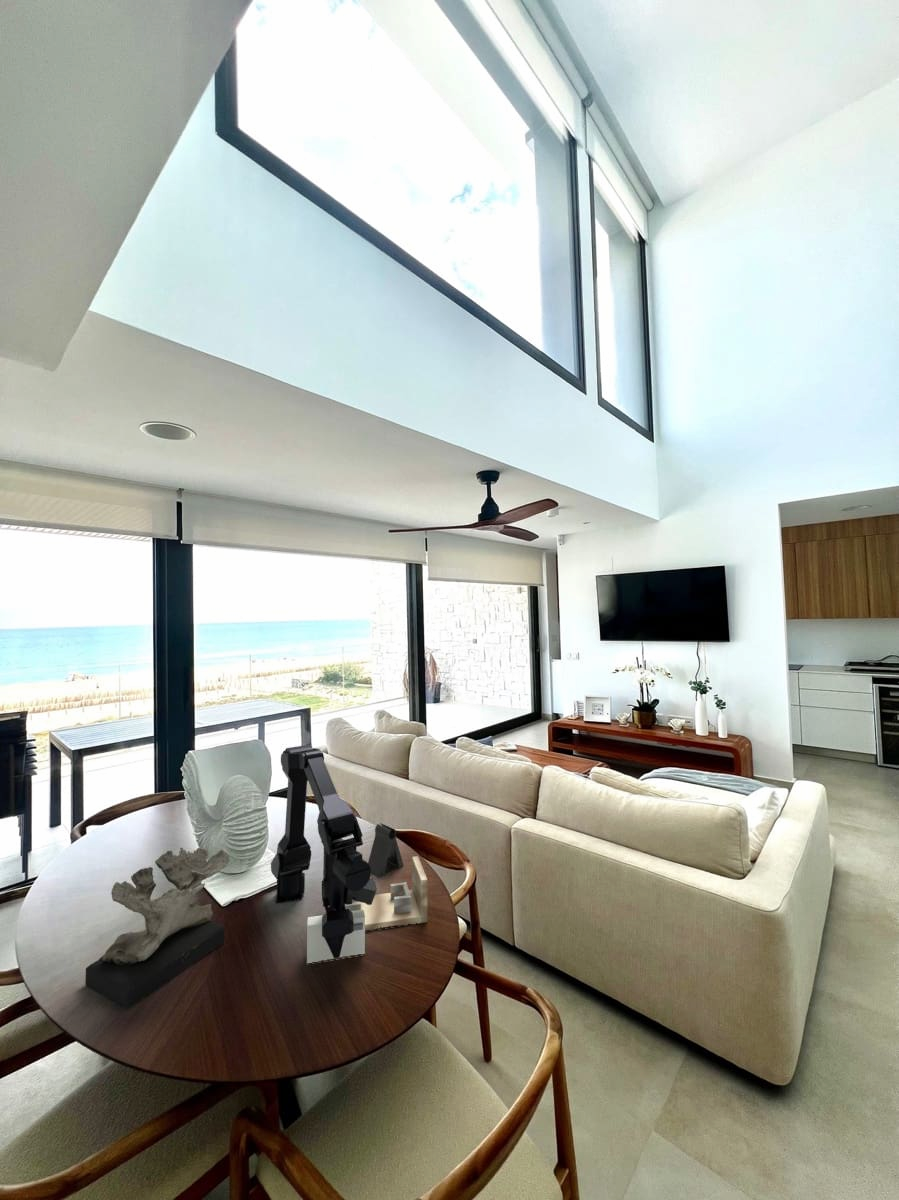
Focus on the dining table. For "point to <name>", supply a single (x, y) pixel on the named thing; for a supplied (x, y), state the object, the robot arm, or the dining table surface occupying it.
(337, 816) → the robot arm
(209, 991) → the dining table surface
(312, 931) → the door
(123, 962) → the coral
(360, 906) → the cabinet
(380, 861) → the door stopper
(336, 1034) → the dining table surface
